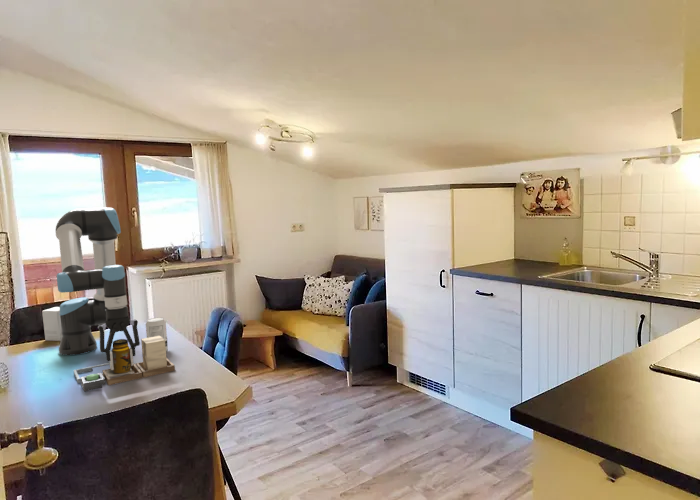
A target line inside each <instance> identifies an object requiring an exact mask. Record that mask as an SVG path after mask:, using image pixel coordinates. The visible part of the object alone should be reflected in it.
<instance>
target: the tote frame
mask: <svg viewBox="0 0 700 500" xmlns="http://www.w3.org/2000/svg"><path fill="white" fill-rule="evenodd" d="M106 365H107V366H108V365H109V366H110V362H106V363H102V364H97V365H92V366H87V367H82V368H78V369H73V375H74V377H75V380H76V382H77V383H78V384H80V383H81V377H80V375H79V374H82V373H87V372H92V371H94V368H99V367H102V366H106ZM102 375H103V373H102Z"/></svg>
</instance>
